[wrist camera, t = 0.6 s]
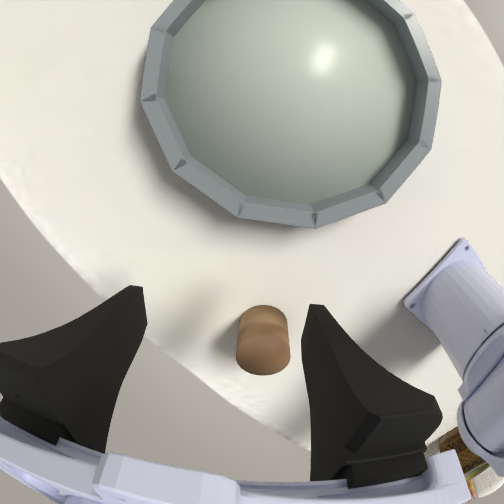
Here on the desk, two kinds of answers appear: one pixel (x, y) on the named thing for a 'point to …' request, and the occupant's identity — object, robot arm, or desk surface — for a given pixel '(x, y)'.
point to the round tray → (291, 103)
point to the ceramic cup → (463, 454)
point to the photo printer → (487, 482)
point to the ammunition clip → (471, 488)
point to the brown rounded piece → (263, 341)
